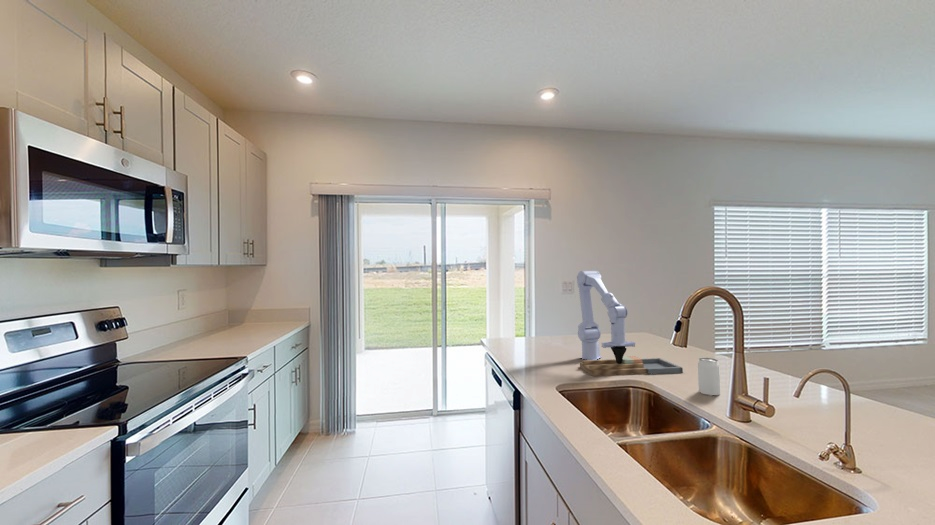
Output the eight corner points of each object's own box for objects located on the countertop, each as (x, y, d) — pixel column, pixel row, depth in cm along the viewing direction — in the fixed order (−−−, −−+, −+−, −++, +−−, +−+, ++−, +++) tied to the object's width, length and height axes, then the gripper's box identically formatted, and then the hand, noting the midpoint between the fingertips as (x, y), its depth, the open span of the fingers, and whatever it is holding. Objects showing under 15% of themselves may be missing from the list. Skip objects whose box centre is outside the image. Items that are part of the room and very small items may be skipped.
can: (723, 396, 127) (722, 362, 127) (703, 395, 128) (702, 361, 128) (715, 390, 133) (714, 357, 133) (695, 389, 135) (694, 357, 135)
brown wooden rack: (592, 376, 154) (592, 367, 154) (579, 367, 168) (579, 359, 168) (646, 373, 156) (646, 365, 156) (629, 364, 170) (629, 357, 170)
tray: (648, 374, 154) (648, 369, 154) (628, 364, 171) (628, 359, 171) (682, 372, 156) (682, 367, 156) (659, 362, 172) (659, 358, 172)
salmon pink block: (633, 366, 159) (633, 359, 159) (626, 363, 165) (626, 356, 165) (642, 366, 160) (642, 359, 160) (635, 362, 166) (635, 356, 166)
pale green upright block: (625, 367, 159) (624, 360, 159) (618, 363, 165) (618, 356, 165) (633, 366, 159) (633, 359, 159) (626, 363, 165) (626, 356, 165)
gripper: (606, 334, 158) (607, 366, 157) (638, 333, 159) (639, 364, 158) (599, 332, 165) (600, 362, 164) (630, 330, 166) (631, 360, 165)
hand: (618, 363), depth 162 cm, fingers closed
